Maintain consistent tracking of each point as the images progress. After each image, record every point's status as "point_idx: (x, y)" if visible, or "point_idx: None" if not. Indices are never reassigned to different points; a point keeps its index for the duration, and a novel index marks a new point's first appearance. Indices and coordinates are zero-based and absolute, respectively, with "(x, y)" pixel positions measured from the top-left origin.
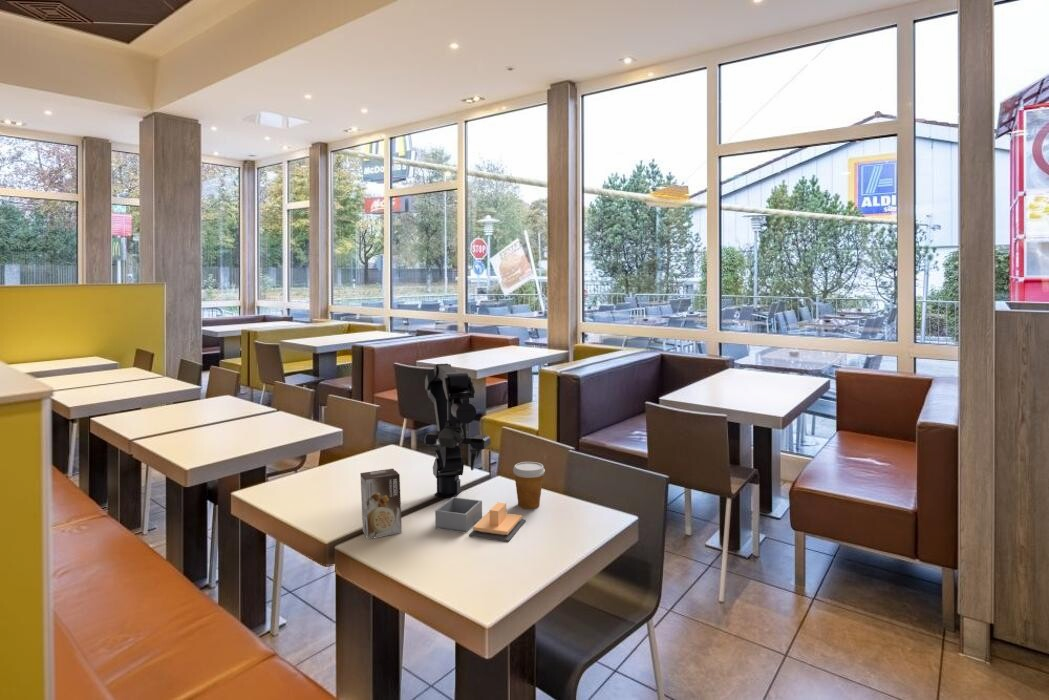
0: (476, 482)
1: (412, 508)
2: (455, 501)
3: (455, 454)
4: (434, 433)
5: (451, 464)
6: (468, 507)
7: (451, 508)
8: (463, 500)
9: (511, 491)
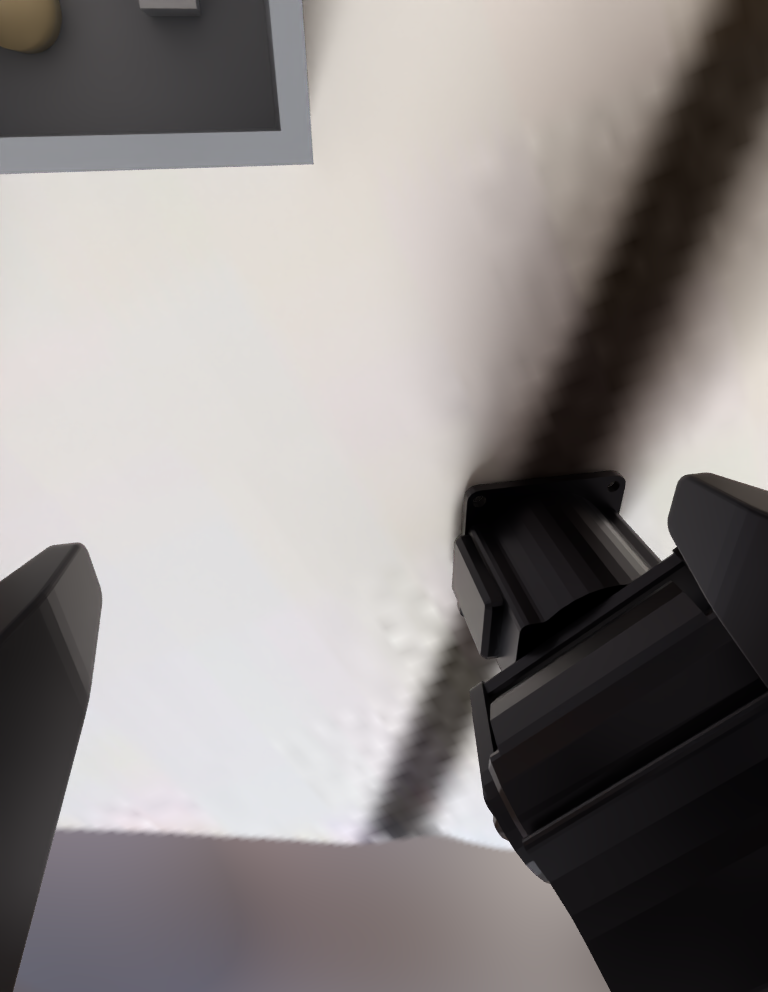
0: (429, 750)
1: (728, 142)
2: (255, 130)
3: (625, 864)
4: None
5: (603, 701)
6: (71, 134)
7: (269, 43)
8: (129, 136)
9: (133, 739)
